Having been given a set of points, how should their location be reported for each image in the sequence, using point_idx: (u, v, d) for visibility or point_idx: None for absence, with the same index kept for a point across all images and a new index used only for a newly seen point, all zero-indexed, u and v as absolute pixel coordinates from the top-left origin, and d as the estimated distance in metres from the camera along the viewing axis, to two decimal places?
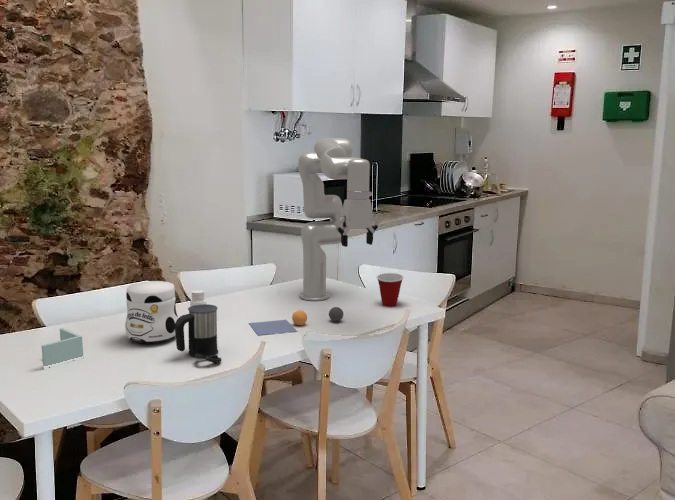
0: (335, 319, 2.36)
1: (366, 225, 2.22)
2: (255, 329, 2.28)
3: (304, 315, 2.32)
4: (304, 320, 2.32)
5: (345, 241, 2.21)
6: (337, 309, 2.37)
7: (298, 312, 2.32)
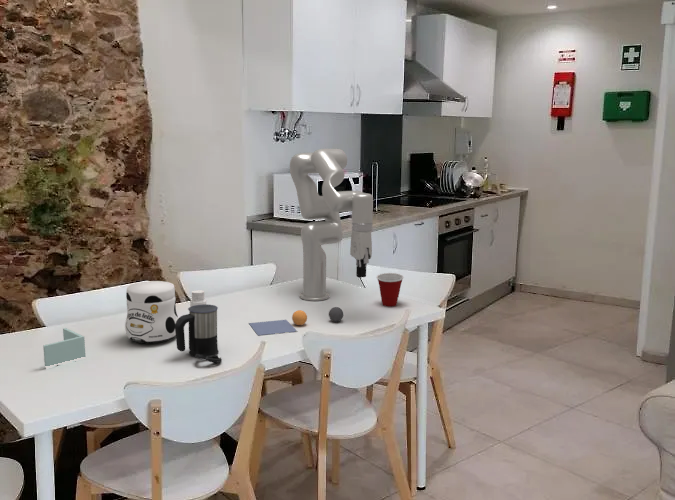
0: (335, 319, 2.36)
1: None
2: (255, 329, 2.28)
3: (304, 315, 2.32)
4: (304, 320, 2.32)
5: (365, 272, 2.38)
6: (337, 309, 2.37)
7: (298, 312, 2.32)
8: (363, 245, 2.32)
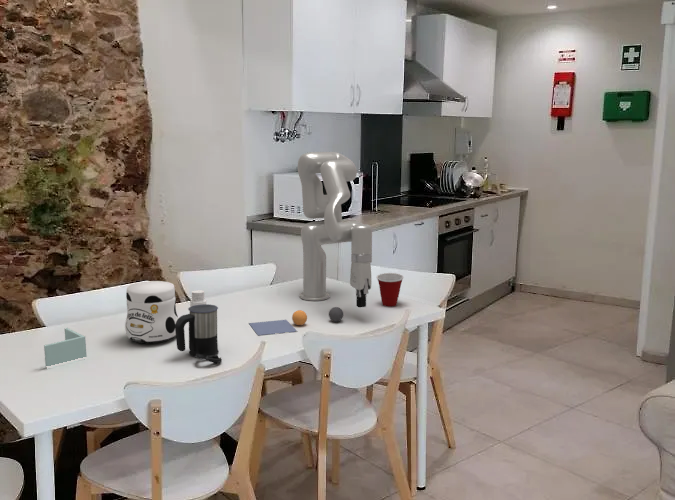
0: (335, 319, 2.36)
1: None
2: (255, 329, 2.28)
3: (304, 315, 2.32)
4: (304, 320, 2.32)
5: (365, 302, 2.40)
6: (337, 309, 2.37)
7: (298, 312, 2.32)
8: (363, 276, 2.34)
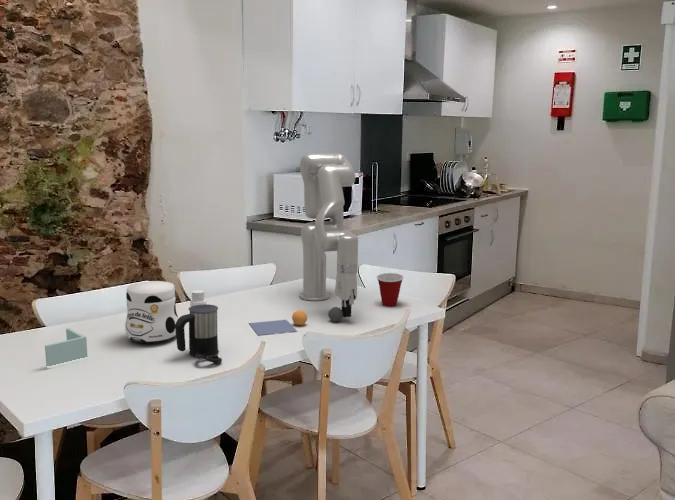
0: (335, 319, 2.36)
1: None
2: (255, 329, 2.28)
3: (304, 315, 2.32)
4: (304, 320, 2.32)
5: (350, 312, 2.40)
6: (337, 309, 2.37)
7: (298, 312, 2.32)
8: (348, 286, 2.33)
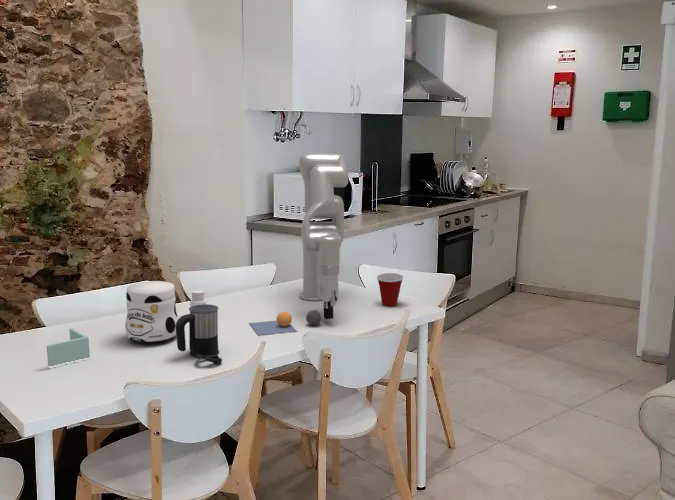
0: (319, 317, 2.32)
1: None
2: (255, 329, 2.28)
3: (281, 320, 2.29)
4: (285, 318, 2.29)
5: (332, 313, 2.37)
6: None
7: (280, 325, 2.31)
8: (329, 288, 2.30)
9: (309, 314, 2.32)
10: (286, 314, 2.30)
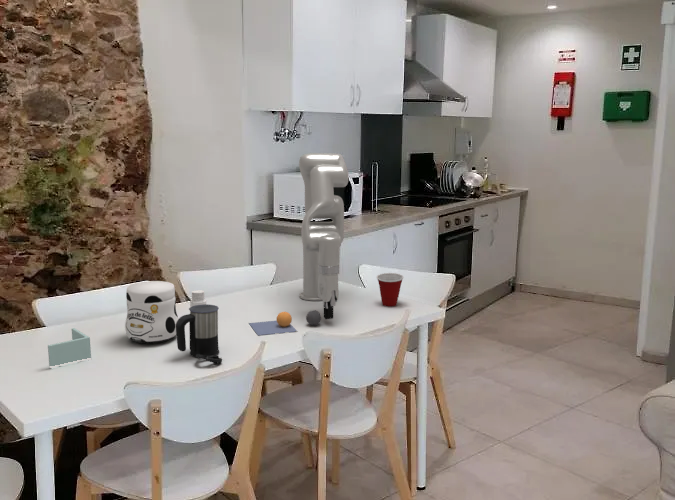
0: (319, 317, 2.32)
1: None
2: (255, 329, 2.28)
3: (281, 320, 2.29)
4: (285, 318, 2.29)
5: (332, 313, 2.37)
6: None
7: (280, 325, 2.31)
8: (329, 288, 2.30)
9: (309, 314, 2.32)
10: (286, 314, 2.30)
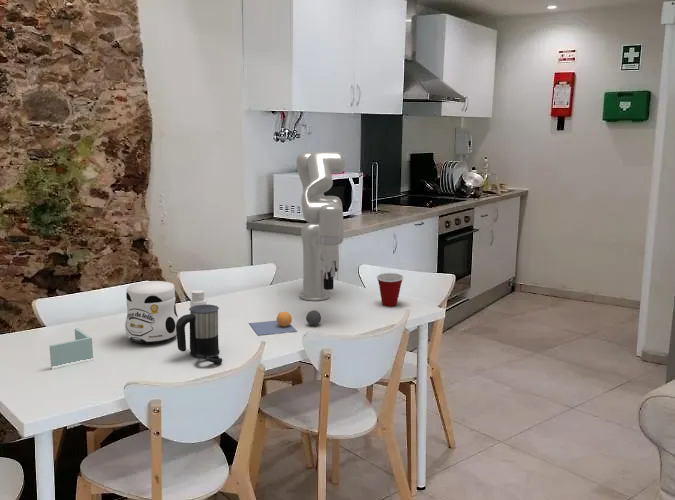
0: (319, 317, 2.32)
1: None
2: (255, 329, 2.28)
3: (281, 320, 2.29)
4: (285, 318, 2.29)
5: (332, 284, 2.36)
6: None
7: (280, 325, 2.31)
8: (330, 258, 2.28)
9: (309, 314, 2.32)
10: (286, 314, 2.30)
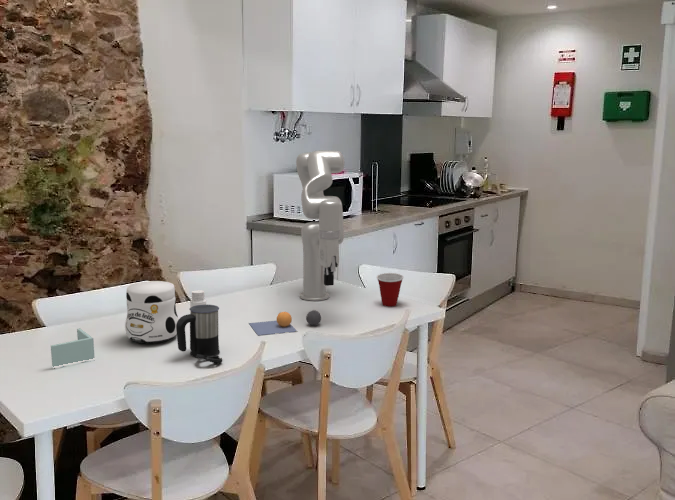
0: (319, 317, 2.32)
1: None
2: (255, 329, 2.28)
3: (281, 320, 2.29)
4: (285, 318, 2.29)
5: (333, 280, 2.35)
6: None
7: (280, 325, 2.31)
8: (330, 253, 2.28)
9: (309, 314, 2.32)
10: (286, 314, 2.30)
